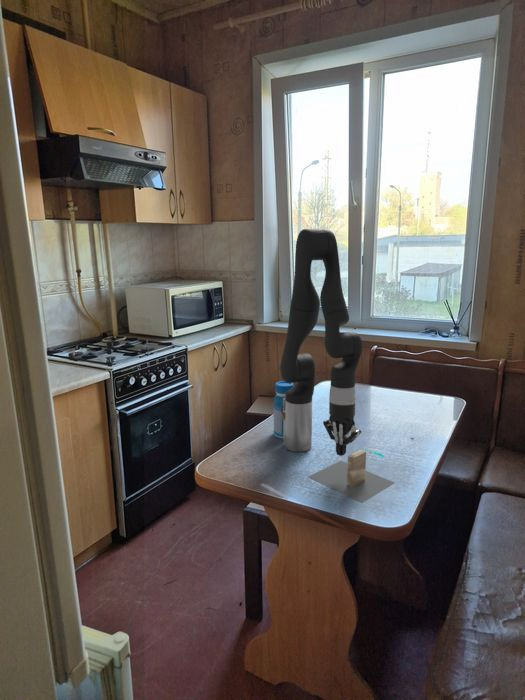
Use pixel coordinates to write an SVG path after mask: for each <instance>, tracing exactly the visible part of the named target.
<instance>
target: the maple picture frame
mask: <svg viewBox="0 0 525 700" xmlns="http://www.w3.org/2000/svg"><path fill="white" fill-rule="evenodd" d="M366 461H367V451H365V450H362V449H359V450H357V451H356V452H353V453H352V454H349V455H347V463H348V472H347V485H350V486H352V487H353V486H355V485H357V484H359V483H360V482H362V481H364V480H365V471H366V466H367V464H366V463H367V462H366Z"/></svg>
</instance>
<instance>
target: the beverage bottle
mask: <svg viewBox="0 0 525 700" xmlns="http://www.w3.org/2000/svg"><path fill="white" fill-rule="evenodd" d="M294 386H295V385H294V382H293V383H287V382H285V381H284V380H279V381H277V382H275V385H274V389H275V390H274V391H275V393H276V394H275V396H274V398H273V399H272V400H273V406H272V411H273V435H274V437H276V438H279V439H283V420H284V419H285V394H286V392H287V391H288V390H289V389H291V388H292V387H294Z"/></svg>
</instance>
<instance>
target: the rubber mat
mask: <svg viewBox="0 0 525 700" xmlns="http://www.w3.org/2000/svg"><path fill="white" fill-rule="evenodd" d="M347 472H348V462H346V461H344V460H338V461H337V462H335V463H333V464H331V465H329V466H326V467H325V468H323V469H320V470H319V471H317V472H314V473H313V474H311V475H308V476H307V478H309V479H310V480H313V481H316V482H318V483H320V484H321V485H324V486H326V487H328V488H330V489H332V490H334V491H337V492H339V493H340V494H343V495H345V496H347V497H349V498H350V499H353V500H356V501H358V502H359V503H361V504H362V503H366V501H368V500H369V499H371V498H373V497H374V496H376V495H377V494H379V493H381V492H382V491H384V490H385V489H387V488H389V487H391V486H392V485H393V484H395V482H394V481H392V480H389V479H387V478H385V477H382V476H379V475H378V474H376V473H375V474H374V473H373V472H370V471H367V470H365V480H364V481H362V482H360V483H359V484H357V485H355V486H353V487H352V486H350V485H347Z"/></svg>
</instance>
